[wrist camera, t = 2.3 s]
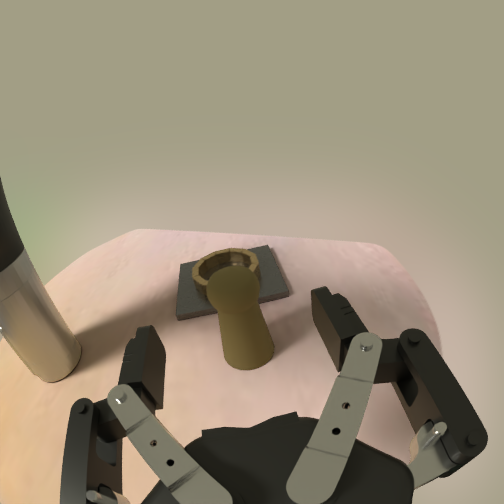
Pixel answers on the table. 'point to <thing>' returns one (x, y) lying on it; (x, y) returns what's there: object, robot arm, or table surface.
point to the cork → (240, 317)
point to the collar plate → (198, 272)
